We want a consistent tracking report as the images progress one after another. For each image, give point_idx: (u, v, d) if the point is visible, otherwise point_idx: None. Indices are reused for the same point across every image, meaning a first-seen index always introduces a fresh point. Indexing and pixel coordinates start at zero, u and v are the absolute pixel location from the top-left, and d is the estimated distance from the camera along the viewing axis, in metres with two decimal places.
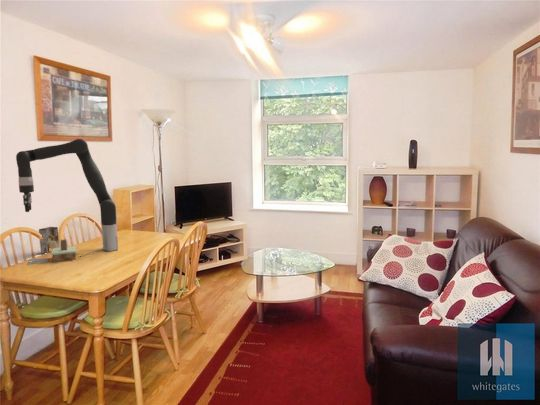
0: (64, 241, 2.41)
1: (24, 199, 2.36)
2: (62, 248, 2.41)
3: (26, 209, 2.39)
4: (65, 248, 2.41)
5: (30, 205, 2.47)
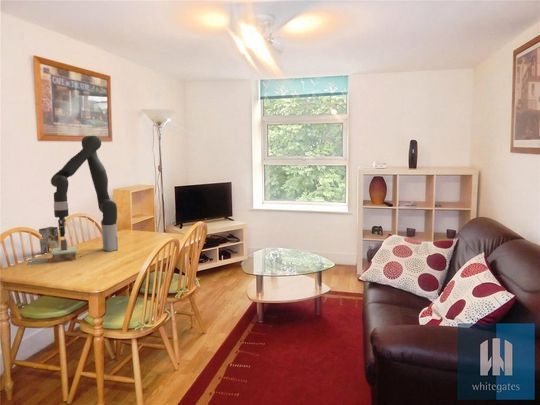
0: (64, 241, 2.41)
1: (60, 224, 2.34)
2: (62, 248, 2.41)
3: (61, 234, 2.36)
4: (65, 248, 2.41)
5: (64, 229, 2.45)
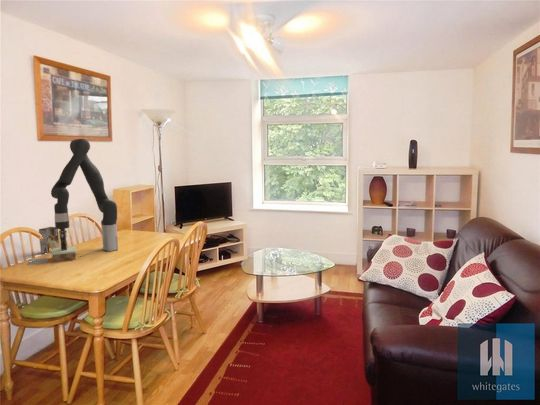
0: None
1: (61, 238, 2.36)
2: None
3: (63, 246, 2.40)
4: None
5: None
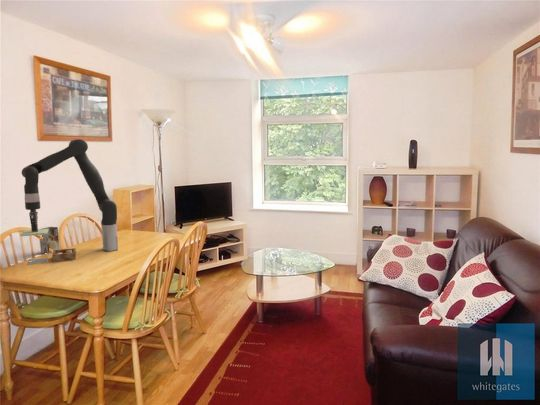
0: None
1: (31, 219, 2.29)
2: None
3: (33, 228, 2.32)
4: (36, 230, 2.34)
5: None
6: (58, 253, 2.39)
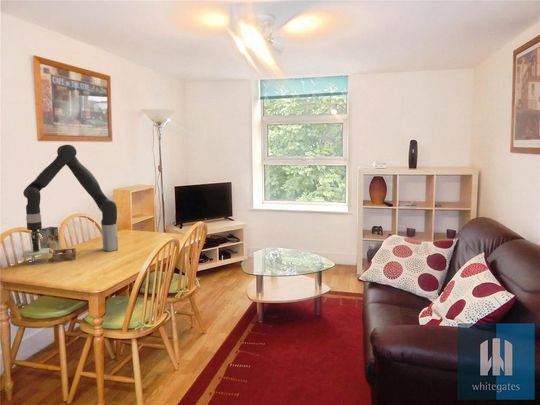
0: None
1: (32, 239, 2.30)
2: None
3: (35, 248, 2.34)
4: None
5: None
6: (58, 253, 2.39)
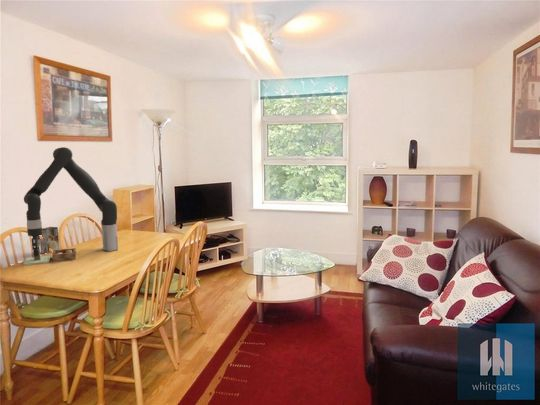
0: None
1: (33, 244, 2.29)
2: (35, 258, 2.35)
3: (35, 253, 2.32)
4: (38, 258, 2.36)
5: (38, 248, 2.40)
6: (58, 253, 2.39)
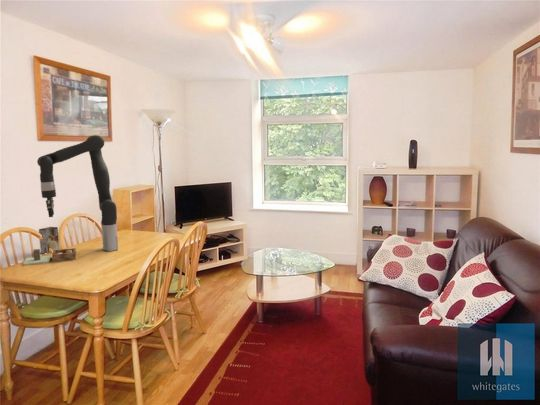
0: (37, 251, 2.35)
1: (47, 204, 2.35)
2: (35, 258, 2.35)
3: (50, 214, 2.37)
4: (38, 258, 2.36)
5: (52, 210, 2.46)
6: (58, 253, 2.39)
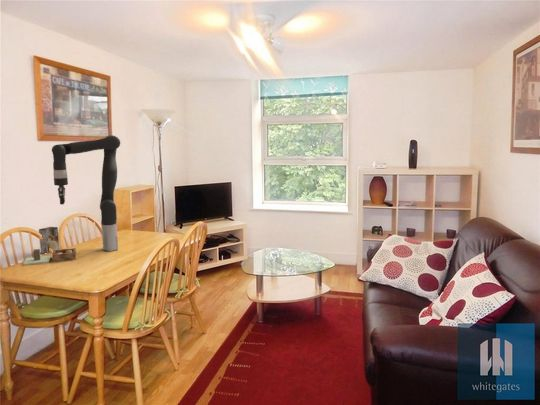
0: (37, 251, 2.35)
1: (59, 192, 2.40)
2: (35, 258, 2.35)
3: (61, 202, 2.43)
4: (38, 258, 2.36)
5: (64, 198, 2.51)
6: (58, 253, 2.39)
